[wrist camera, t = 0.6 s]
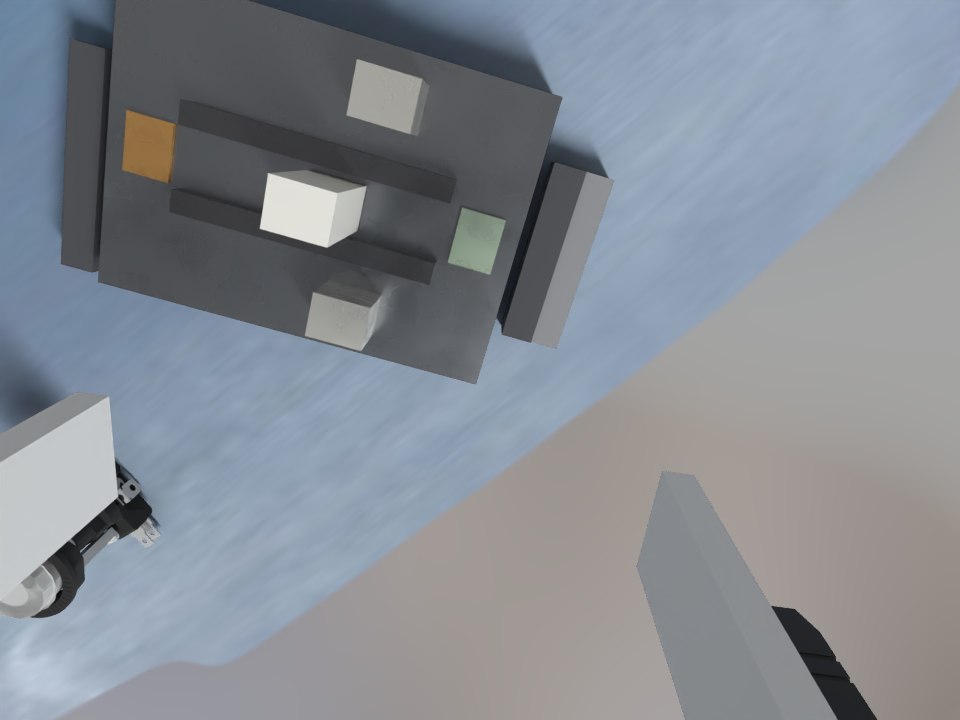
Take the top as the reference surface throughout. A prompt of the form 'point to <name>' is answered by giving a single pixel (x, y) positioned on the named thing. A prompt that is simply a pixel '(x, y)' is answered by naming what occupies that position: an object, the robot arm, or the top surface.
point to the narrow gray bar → (555, 254)
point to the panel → (323, 148)
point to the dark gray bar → (85, 154)
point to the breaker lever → (312, 206)
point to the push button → (80, 555)
